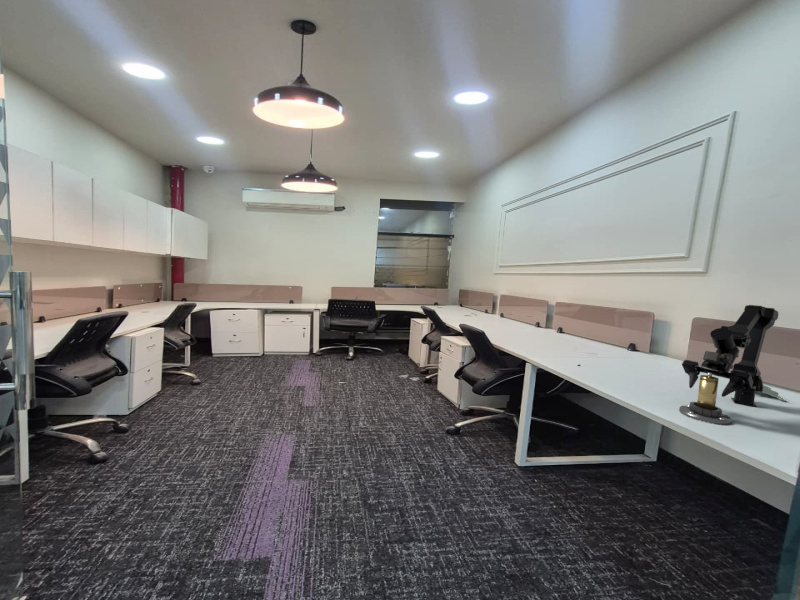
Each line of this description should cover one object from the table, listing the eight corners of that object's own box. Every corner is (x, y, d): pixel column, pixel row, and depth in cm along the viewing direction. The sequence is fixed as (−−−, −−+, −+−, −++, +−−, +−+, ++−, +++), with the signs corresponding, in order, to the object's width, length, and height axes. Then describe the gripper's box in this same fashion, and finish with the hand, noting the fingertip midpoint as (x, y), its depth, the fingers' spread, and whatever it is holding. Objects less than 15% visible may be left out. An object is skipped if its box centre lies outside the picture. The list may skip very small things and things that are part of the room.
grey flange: (677, 405, 134) (678, 396, 134) (727, 415, 126) (728, 405, 126) (680, 416, 123) (681, 406, 123) (735, 428, 115) (736, 418, 115)
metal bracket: (751, 383, 149) (738, 375, 162) (744, 395, 150) (732, 386, 163) (796, 400, 143) (779, 390, 156) (788, 412, 144) (772, 401, 157)
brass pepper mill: (693, 409, 127) (697, 370, 126) (708, 411, 126) (713, 371, 125) (701, 414, 123) (706, 374, 122) (717, 416, 122) (722, 375, 121)
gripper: (687, 338, 132) (668, 369, 128) (754, 349, 116) (735, 385, 112) (695, 357, 137) (677, 388, 133) (760, 370, 120) (742, 406, 116)
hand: (705, 391), depth 123 cm, fingers open, 9 cm apart
